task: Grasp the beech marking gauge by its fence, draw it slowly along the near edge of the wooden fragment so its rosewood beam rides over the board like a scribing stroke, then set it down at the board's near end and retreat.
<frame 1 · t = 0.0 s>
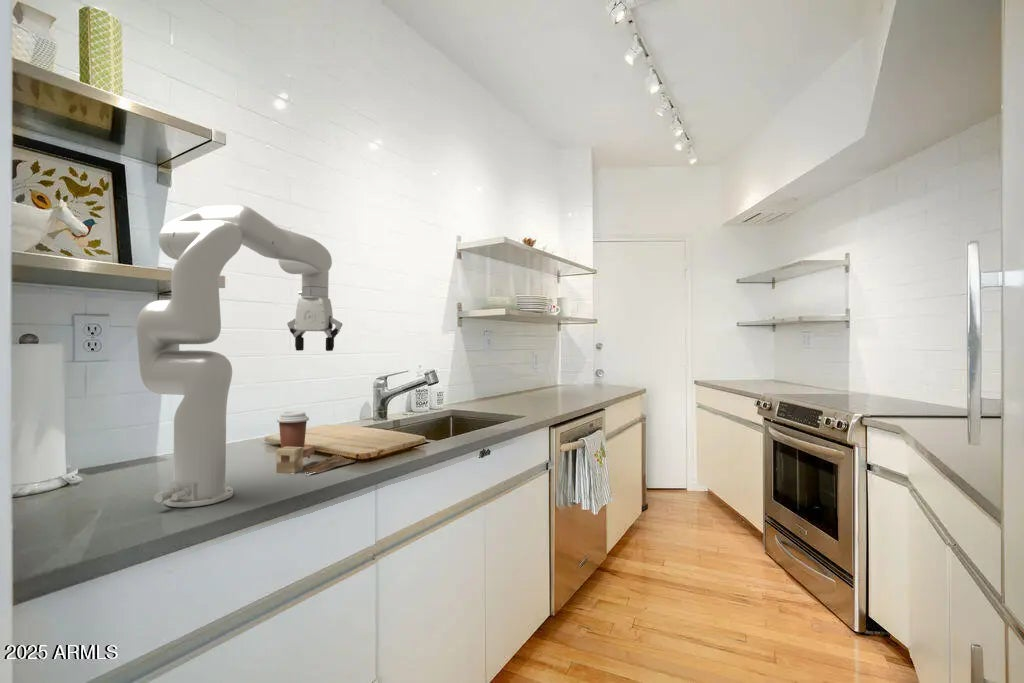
hand: (314, 350, 152), 31 cm above the countertop, tool pointing down, fingers open, 9 cm apart
coffee cup: (292, 452, 155), on the countertop
wooden fragment: (332, 466, 140), on the countertop
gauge: (289, 471, 132), on the countertop
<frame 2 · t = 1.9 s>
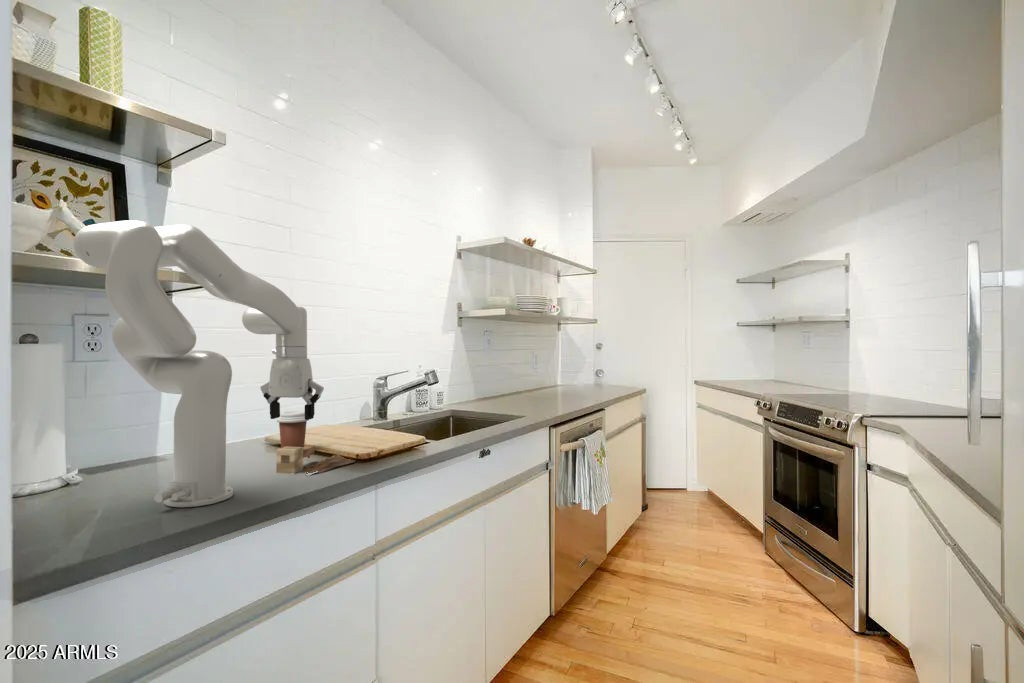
hand: (292, 418, 132), 14 cm above the countertop, tool pointing down, fingers open, 9 cm apart
nothing on the countertop moved.
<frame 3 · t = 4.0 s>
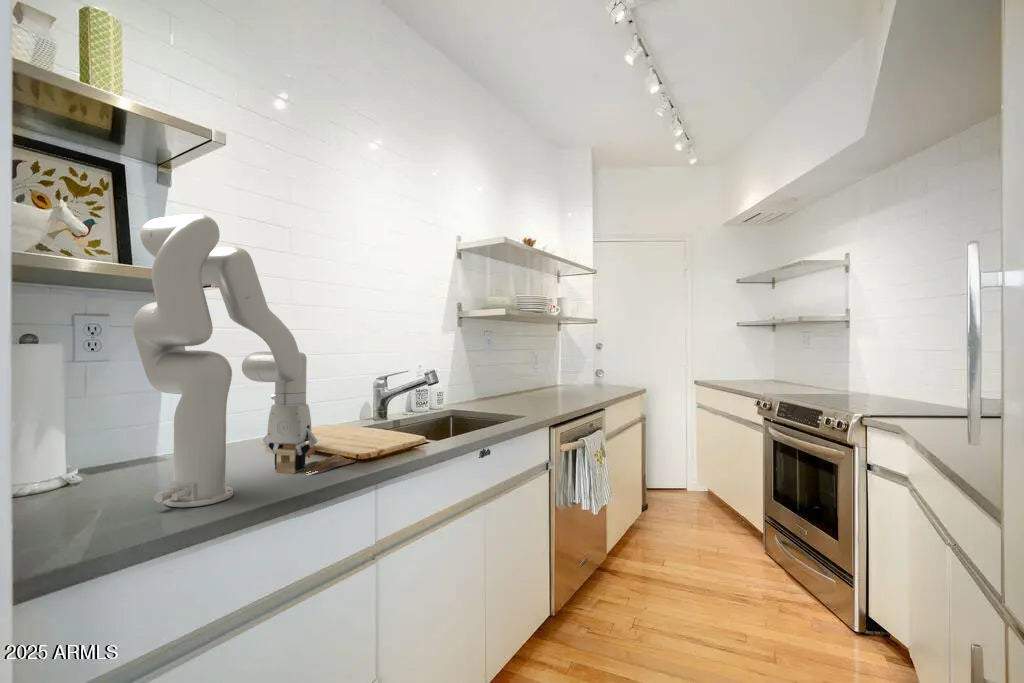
hand: (289, 468, 132), 1 cm above the countertop, tool pointing down, fingers closed on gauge, 5 cm apart
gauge: (289, 471, 132), on the countertop, touching gripper
everything else where it was.
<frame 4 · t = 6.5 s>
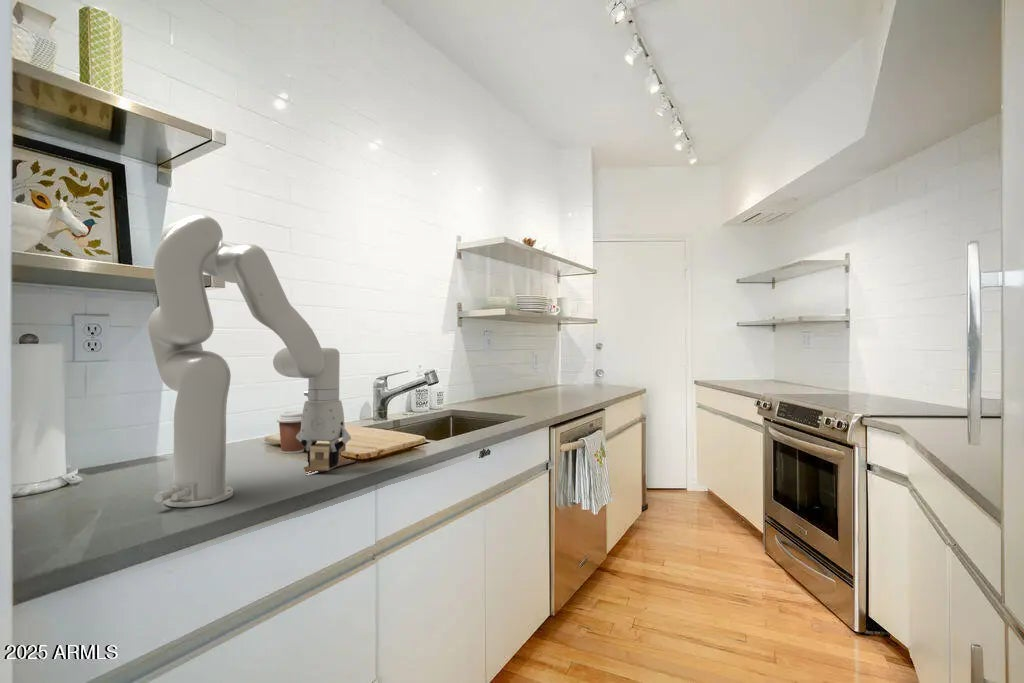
hand: (323, 465, 130), 2 cm above the countertop, tool pointing down, fingers closed on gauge, 5 cm apart
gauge: (323, 468, 130), point 1 cm above the countertop, touching gripper
everything else where it was.
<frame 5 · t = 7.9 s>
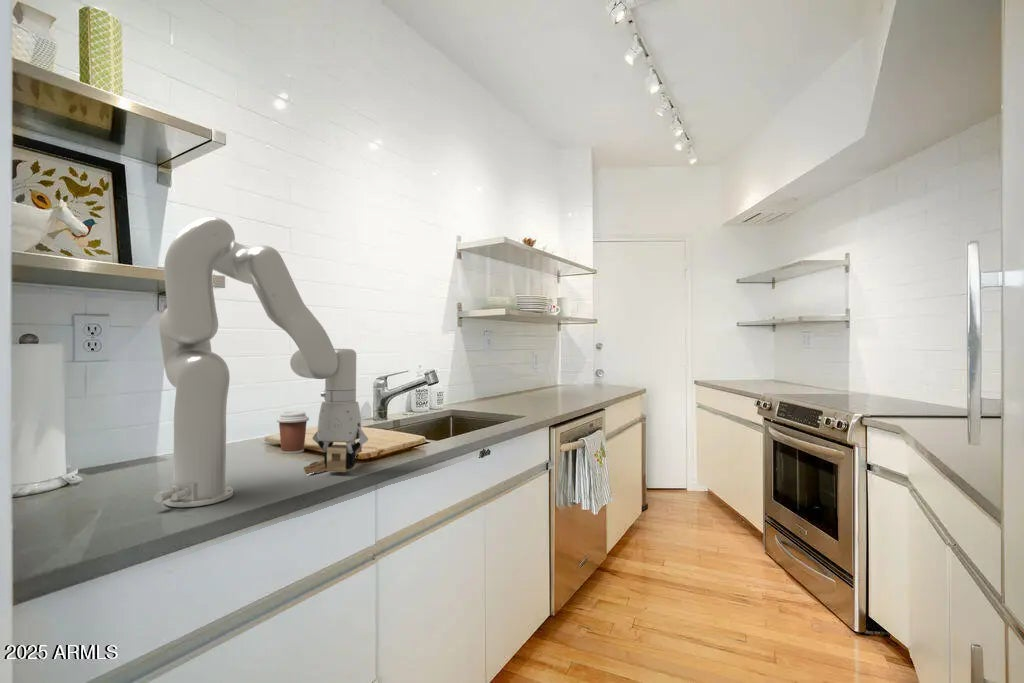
hand: (339, 466, 130), 2 cm above the countertop, tool pointing down, fingers closed on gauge, 5 cm apart
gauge: (339, 469, 130), point 1 cm above the countertop, touching gripper
everything else where it was.
when the fingers open (1 cm above the countertop, at t = 8.9 s): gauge stays where it is, on the countertop.
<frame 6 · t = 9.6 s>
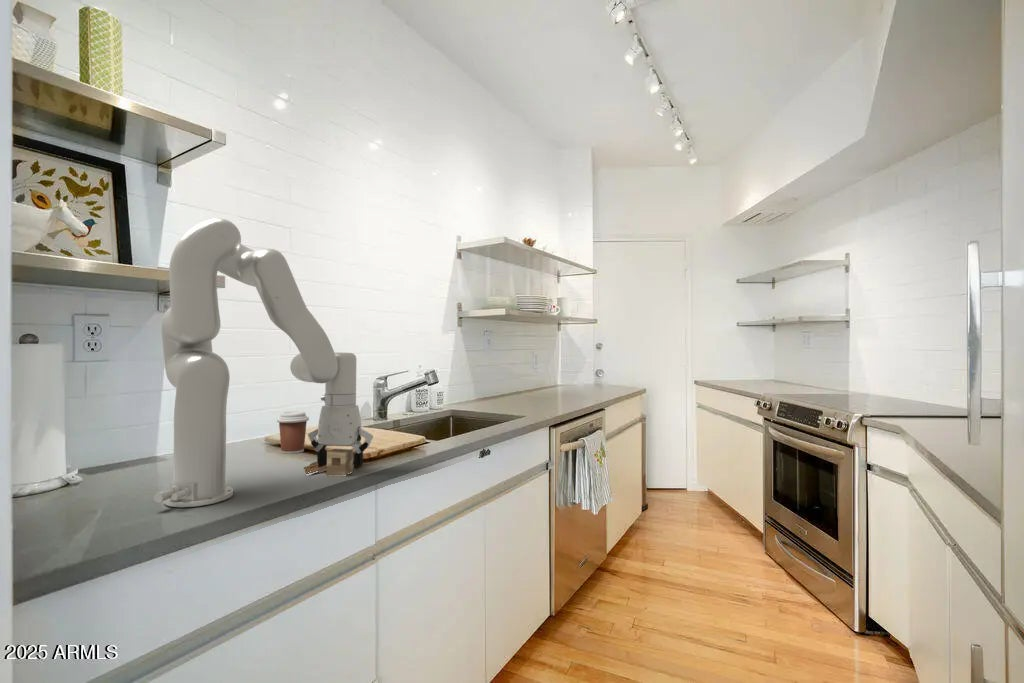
hand: (340, 467, 130), 2 cm above the countertop, tool pointing down, fingers open, 9 cm apart
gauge: (339, 473, 130), on the countertop
everything else where it was.
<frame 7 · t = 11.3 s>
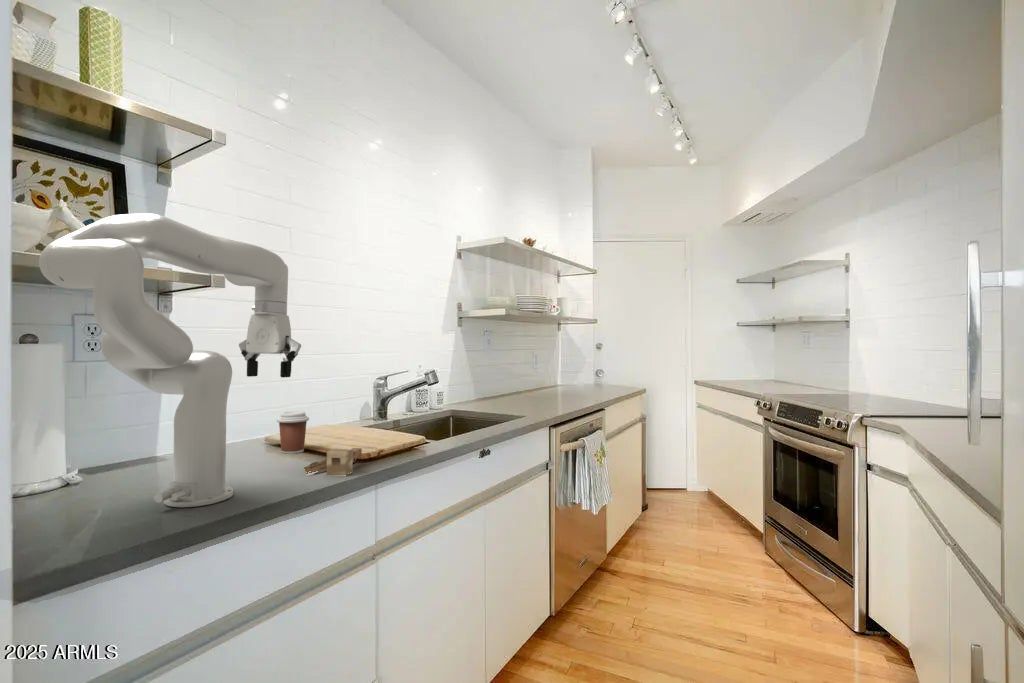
hand: (268, 376, 128), 25 cm above the countertop, tool pointing down, fingers open, 9 cm apart
nothing on the countertop moved.
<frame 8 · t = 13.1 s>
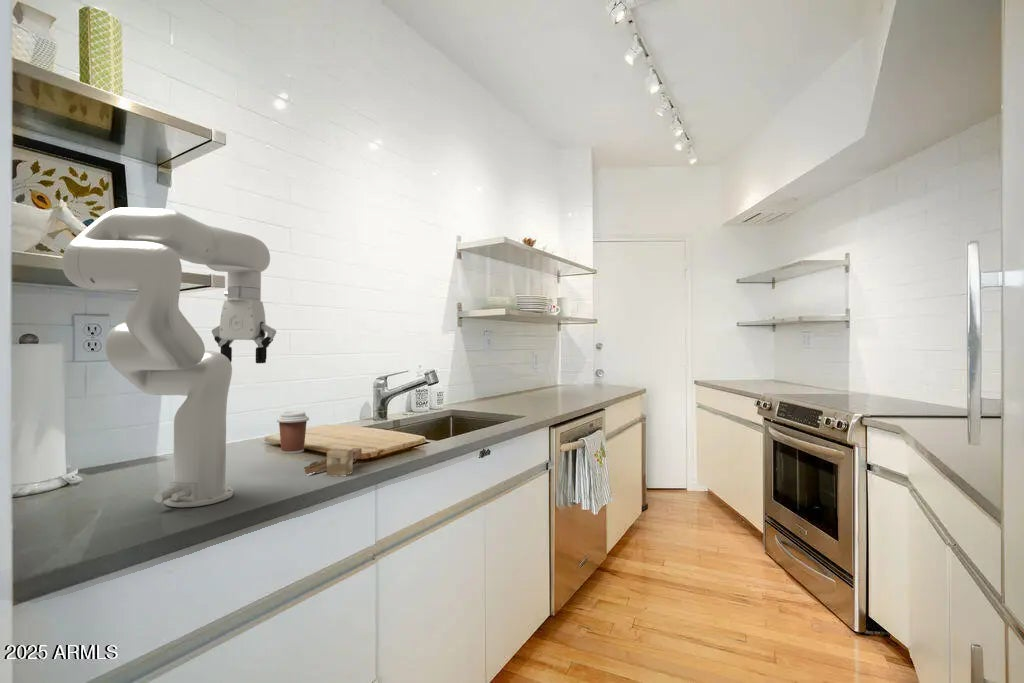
hand: (243, 362, 128), 28 cm above the countertop, tool pointing down, fingers open, 9 cm apart
nothing on the countertop moved.
at the end: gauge inside the target area (0.1 cm from its centre), on the countertop; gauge 11.4 cm from the wooden fragment (horizontally); the gripper is holding nothing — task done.
